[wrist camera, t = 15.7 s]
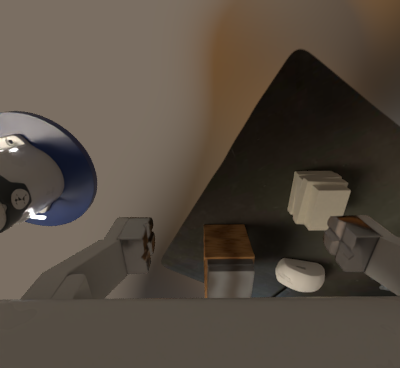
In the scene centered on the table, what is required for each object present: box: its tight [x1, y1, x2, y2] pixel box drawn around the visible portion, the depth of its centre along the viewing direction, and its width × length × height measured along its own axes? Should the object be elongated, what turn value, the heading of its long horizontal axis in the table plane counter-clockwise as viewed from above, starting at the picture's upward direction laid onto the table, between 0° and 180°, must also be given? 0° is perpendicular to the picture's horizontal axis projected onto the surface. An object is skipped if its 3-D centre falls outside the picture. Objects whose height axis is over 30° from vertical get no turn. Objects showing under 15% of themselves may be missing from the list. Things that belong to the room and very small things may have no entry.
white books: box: [288, 171, 348, 224], centre depth 46 cm, size 9×10×6 cm
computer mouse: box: [275, 258, 325, 292], centre depth 56 cm, size 6×13×6 cm, turn 78°
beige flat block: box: [304, 185, 351, 230], centre depth 42 cm, size 6×9×2 cm, turn 1°
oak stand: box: [204, 224, 255, 298], centre depth 48 cm, size 10×12×14 cm
